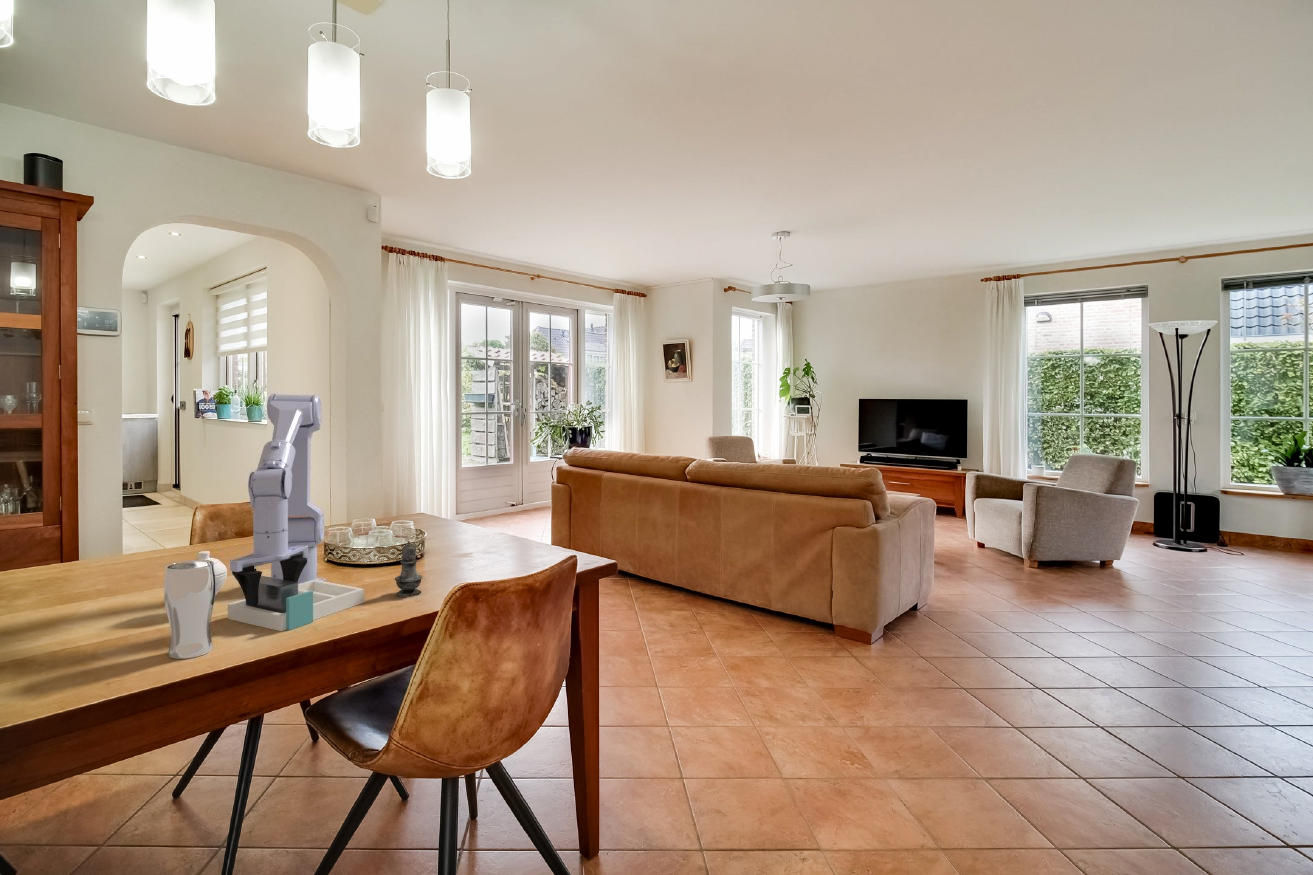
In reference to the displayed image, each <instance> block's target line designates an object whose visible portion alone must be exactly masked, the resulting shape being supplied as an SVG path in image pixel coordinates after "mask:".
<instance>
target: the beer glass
mask: <svg viewBox="0 0 1313 875" xmlns="http://www.w3.org/2000/svg"><path fill="white" fill-rule="evenodd" d="M164 569H165V571H164V581H163V582H164V584H163V598H164V605H165V606H164V607H165V611H166V615H167V619H168V623H169V628H170V643H169V648H168V655H167V657H168V658H169V659H173V660H174V659H175V660H186V659H193V658H197V657H200V656H203V655H206V654H208V653H210V652H212V650H213V649H214V644H213V639H212V635H211V622H212V621H211V620H212V617H213V610H214V605H215V598H216V596H215V588H216V585H215V572H214V562H213V561H210V560H196V559H192V560H183V561H179V562H178V561H177V562H173V563H171V564H168V565H166V566H165V567H164Z"/></svg>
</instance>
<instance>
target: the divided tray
mask: <svg viewBox="0 0 1313 875" xmlns="http://www.w3.org/2000/svg"><path fill="white" fill-rule="evenodd" d="M365 592H366V591H365V588H361V587H356V586H351V585H344V584H340V583H334V582H328V581H325V582H324V581H319V580H311V581H308V582H304V583H300V584H298V595H295V596H291V597H288V598H286V613H283V614H282V613H278V612H273V611H269V610H264V609H260V608H255V607H250V606H246V599H245V598H243V599H241V600H237V601H234V602H230V603H227V619H228V620H232V621H236V622H239V623H240V622H241V623H245V624H248V625H249V624H250V625H251V626H252V625H253V626H258V627H260V628H266V629H269V630H274V631H279V632H283V631H286V630H287V631H292V630H295V629H297V628H300V627H303V626H305V625H310V624H312V623H314V621H315V620H318V619H320V618H324V617H326V616H327V617H328V616H329V615H333V614H336V613H338V612H341V611H345V610H347V609H349V608H352V607H355V606H358V605H360V604H364V603H365V598H366V597H365Z"/></svg>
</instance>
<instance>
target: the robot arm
mask: <svg viewBox="0 0 1313 875" xmlns="http://www.w3.org/2000/svg"><path fill="white" fill-rule="evenodd" d="M266 402H267V403H266V413H267V417H268V419H269V421H270V422H271V424H272V425H273V431H272V437H271V440H270V441H267V442H266V443H265V444H264V446H263V448H262V451H261V455H260V458H259V462H258V464H257V468H256V469H255V470H254V471H250V473H249V476H248V482H247V491H248V495H249V501H250V508H251V509H252V516H253V517H252V520H253V521H252V522H253V523H252V524H253V525H252V527H253V528H252V529H253V533H252V534H253V540H252V541H253V549H252V550H253V553H252V552H251V553H250V554H247V555H244V556H241V557H238V558H235V559H231V560H229V570H230V572H231V574H232V576H233V577H234V578H235V580H236V581H237V583H238V584H239V587H240V588H241V590H242V593H243V596H244V599H246V603H247V605H250V606H257V605H258V589H259V582H260V578H261V576H263V575H262V574H263V571H260V570H257V568H255V567H261V566H263V565H268V564H270V571H271V572H270V577H271V578H276V579H282V580H287V581H292V582H297V583H298V584H300V583H304V582H308V581H311V580H319V581H324V582H327V579H326V578H323V577H322V578H321V577H318V559H317V558H318V545H319V544H321V543H322V542H323V541H324V538H325V529H326V528H325V527H326V526H325V519H324V512H323V510H322V508H319V507H318V506H316V505H315V504H313V503H312V501H311V457H312V456H311V451H312V450H311V449H312V448H311V446H312V444H311V442H312V437H313V433H315V432H317V431H321V426H322V401H321V397H320V396H318V394H313V395H309V394H306V395H305V394H277V393H271V394H270V395H269V396H268V398H267V401H266Z"/></svg>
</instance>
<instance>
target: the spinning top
mask: <svg viewBox="0 0 1313 875" xmlns="http://www.w3.org/2000/svg"><path fill="white" fill-rule="evenodd" d="M210 554H211V553H210V551H209V550H202V551H199V552H197V556H198V558H197V559H195V560H210V561H213V562H214V572H215V585H216V588H215V597H216V596H217V594H218V593H219V592H220V590H221V589H222V587H223V586H224V584H225V582H226V580H227V578H228V569H227V567H226V565H225V563H223V562H222V561H220V559H217V558H214V557H210Z"/></svg>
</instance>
